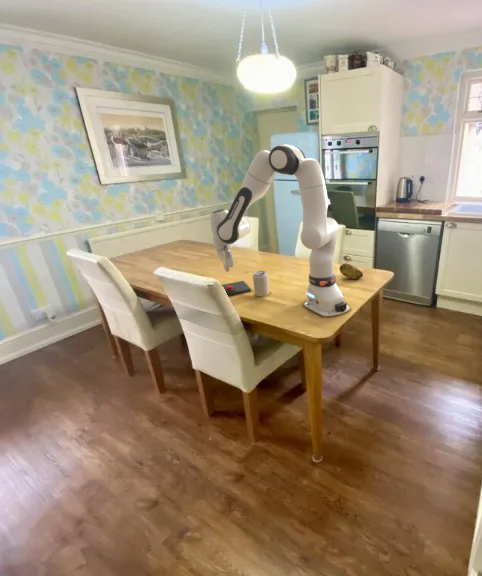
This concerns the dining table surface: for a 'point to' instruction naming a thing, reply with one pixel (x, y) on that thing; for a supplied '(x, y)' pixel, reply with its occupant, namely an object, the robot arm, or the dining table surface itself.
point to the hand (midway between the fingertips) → (227, 270)
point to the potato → (350, 271)
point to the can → (261, 283)
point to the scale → (237, 288)
